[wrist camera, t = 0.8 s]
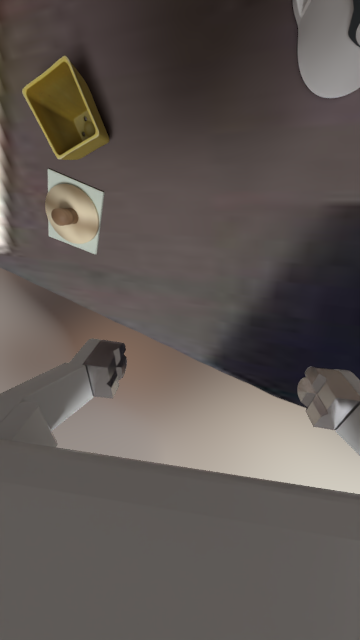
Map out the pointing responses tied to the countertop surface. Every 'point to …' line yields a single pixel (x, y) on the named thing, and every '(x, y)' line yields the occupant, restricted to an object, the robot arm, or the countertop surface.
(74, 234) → the lid
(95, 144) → the flower pot
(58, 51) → the countertop surface
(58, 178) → the mat
